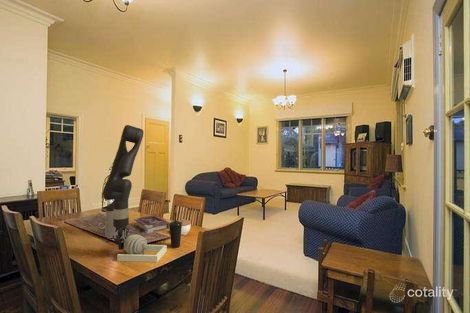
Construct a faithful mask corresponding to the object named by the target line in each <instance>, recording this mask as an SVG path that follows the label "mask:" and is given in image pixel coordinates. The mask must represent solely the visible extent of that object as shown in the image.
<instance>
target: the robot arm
mask: <svg viewBox="0 0 470 313" xmlns="http://www.w3.org/2000/svg"><path fill="white" fill-rule="evenodd" d="M143 138H144V129H142V128H139V127H136V126H133V125H129V124H126V125H125V126H124V128H123V129H122V132H121V136H120V139H119V145H118V148H117V151H116V154H115V156H114V160H113V163H112V167H111V170H110V173H109V175H108V178H107V180H106V182H105V184H104V187H103V189H102V197H103V199H104V200H106V201H111V200H113V201H112V202H110V203H109V204H107V205H106V208H105V212H106V213H105V215H106V216H105V219H106V220H105V222H104V238H105V237H108V238H107V239H109V238H113V239H112V240H114V242H115V243H116V244H118V250H119V251H122V250H125V248H124V241H125V240H126V238H127V237H128V236H129V235H128V234H129V231H130V228H129V227H128V226H129V224H130V219H129V218H130V216H129V215H130V211H129V198H130V194H131V190H132V188H133V185H132V181H131V180H130V179H128V178H127V177H130V176H131V175H132V172H133V167H134V163H135V161H136V157H137V155H138V152H139V149H140V146H141V144H142V140H143ZM127 142H129V143H132V144H134V145H133V146H132V148H131V149H130V150H128V149H127ZM127 227H128V228H127Z"/></svg>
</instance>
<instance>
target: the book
mask: <svg viewBox="0 0 470 313" xmlns="http://www.w3.org/2000/svg"><path fill="white" fill-rule="evenodd" d="M133 221H135V222H136V223H134V226H136V227H137V228H139V229H140V230H142V231H143V232H145V233H146V234H151V233H155V232H159V231H164V230H168V229H169V230H170V228H169V223H170V222H169V221H168V220H165V219H164V218H162V217H159V216H157V215H156V214H154V215H147V216H142V217H134V218H133Z"/></svg>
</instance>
